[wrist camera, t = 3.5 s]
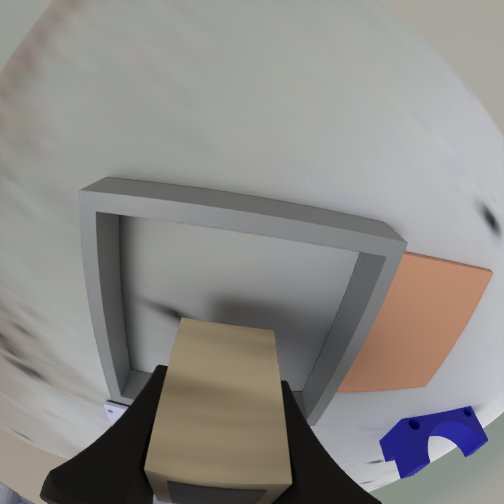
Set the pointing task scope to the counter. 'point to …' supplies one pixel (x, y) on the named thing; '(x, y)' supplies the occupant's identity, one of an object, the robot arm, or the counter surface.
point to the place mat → (416, 324)
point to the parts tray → (240, 220)
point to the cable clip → (417, 434)
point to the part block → (220, 419)
